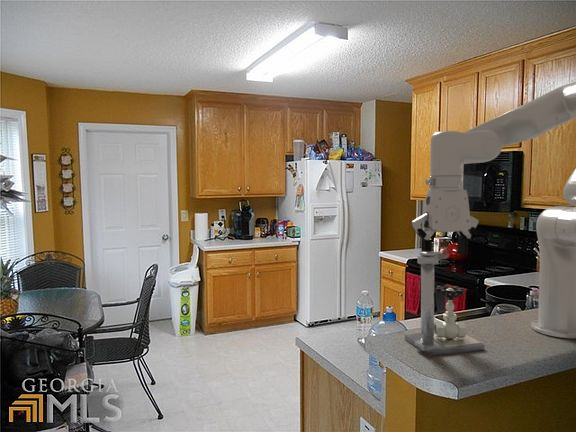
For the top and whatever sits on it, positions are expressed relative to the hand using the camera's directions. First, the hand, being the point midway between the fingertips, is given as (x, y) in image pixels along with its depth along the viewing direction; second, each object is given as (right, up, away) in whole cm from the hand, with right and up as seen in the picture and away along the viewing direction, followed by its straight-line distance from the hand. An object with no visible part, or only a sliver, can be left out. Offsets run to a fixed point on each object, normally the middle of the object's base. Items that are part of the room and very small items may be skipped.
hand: (444, 255), depth 107 cm
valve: (0, -20, -2) cm, 20 cm away
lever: (-4, -1, -5) cm, 6 cm away
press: (-1, -21, -2) cm, 21 cm away
